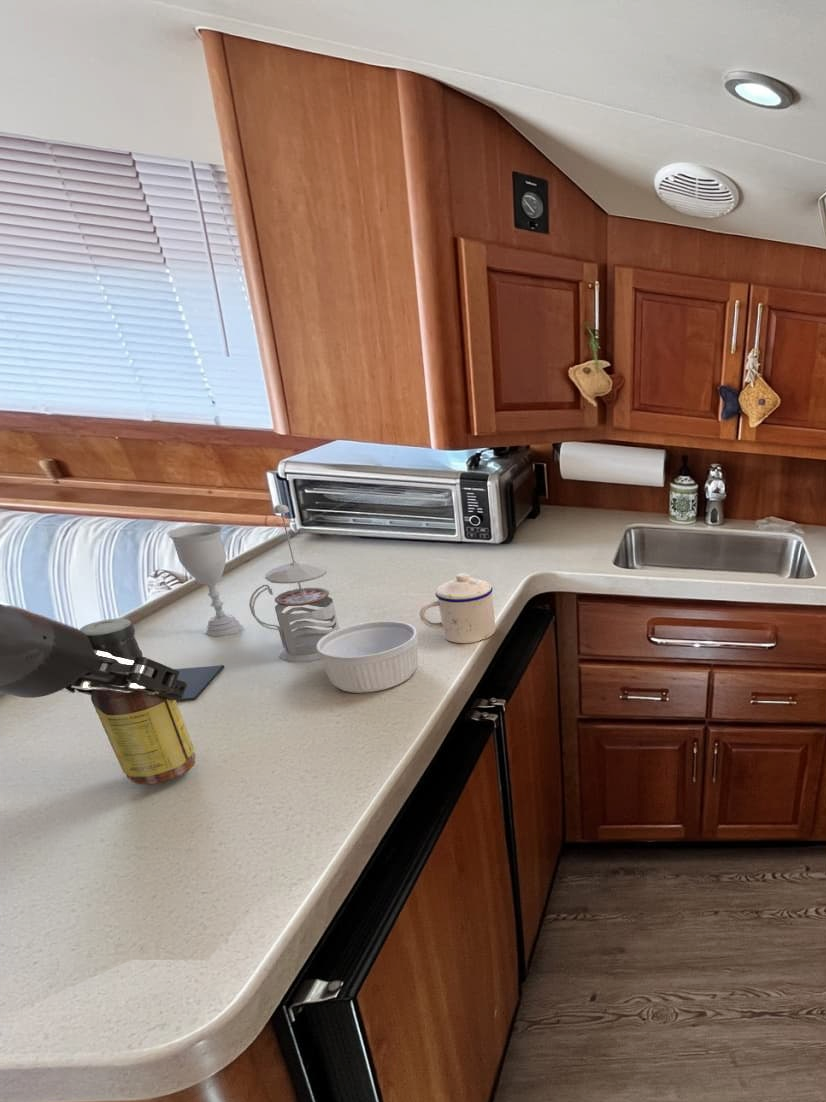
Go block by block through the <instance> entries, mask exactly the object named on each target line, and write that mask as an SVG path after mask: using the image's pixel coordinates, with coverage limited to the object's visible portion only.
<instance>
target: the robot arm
mask: <svg viewBox="0 0 826 1102" xmlns="http://www.w3.org/2000/svg"><path fill="white" fill-rule="evenodd" d="M174 669H175V668H173V667H169V666H167V665H165V664H163V663H160V662H157V661H155V660H153V659H150V658H148V657H146V656H143V657H135V659H134V661H132V660H128V659H123V658H118V657H114V656H112V655H111V654H110V653H107V652H102V651H97V650H93V648H92V645H91V643H90V640H89V638H88V637H87V636H86V635H85V633H83V632H82V631H81V630H80V629H79V628H77V627H75V626H72V625H70V624H66V623H64V622H61V621H58V620H56V619H53V618H50V617H47V616H44V615H42V614H39V613H38V612H37V613H36V612H33V611H31V610H28V609H27V608H23V607H20V606H17V605H14V604H11V603H9V602H6V601H1V600H0V694H1V693H2V694H6V695H9V696H10V695H11V696H13V697H19V698H24V699H25V698H27V699H31V698H32V699H33V698H42V697H46V696H49V695H53V694H55V693H58V692H59V693H60V692H61V693H68V694H79V693H81V694H85V695H88V696H91V694H92V689H97V690H103V691H109V692H114V693H120V694H123V693H130V692H133V691H136V692H141V693H147V694H148V695H155V696H159V697H162V698H165V699H169V700H181V699H182V697H183V696H184V693H185V690H186V688H187V685H186V683H185V682H183V681H180V680H177V678H178V675H179V673H180V672H179V671H177V670H174ZM119 674H120V675H124V677H123V680H122V682H121V684H120V686H116V685H111V684H114V683H115V682H116V681H117V679H118V677H119ZM139 685H140V686H139Z"/></svg>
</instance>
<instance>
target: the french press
mask: <svg viewBox="0 0 826 1102" xmlns="http://www.w3.org/2000/svg"><path fill="white" fill-rule="evenodd" d="M273 512H274V514H280V515H281V518H282V522H283V527H284V531H285V535H286V539H287V542H288V548H289V551H290V555H291V559H292V562H286V563H284V564H281V565H278V566H276V567H273V568H271V569H270V570H269V571H268V572H266V573H265V574H264V579H265V580H267V581H268V582H269V583H272V584H280V585H281V584H298V588H296V589H291V590H287V591H284V592H282V593H279V594H278V595H277V596H276V597H274V602H275V603H276V604H275V606H274V611H275V614H276V619H277V622H278V625H277V624H271V623H266V622H264V621H262V620H260V619H259V617H258V616H256V611H255V605H256V601H257V599H258V597H259V596H260V595H261V594H262V593H263V592H265V591H267V590H268V591H267V592H268V593H269V595H271V596H273V595H274V594H273V589H272V588H271V587H270V585H268V584H262V585H261V586H259V587H258V588H256V589H255V590H254V592H253V593H252V594H251V596H250V599H249V609H250V613H251V615H252V616H253V618H254V619H255V620H256V622H257V623H258V624H259V625H260V626H262V627H263V628H266V629H269V630H275V631H278V633H279V637H280V641H281V644H282V647H281V649H280V650H279V651H278V657H279V658H280V659H282V660H283V661H287V662H294V663H302V662H314V661H318V660H321V659H320V658H319V657H318V654H317V649H316V645H317V643H318V641H319V640H320V639H321V638H323V637H324V636H325V635H327V634H329V633H331V632H333V631H335V630H338V629H340V627H339V622H338V616H337V614H336V608H335V603H334V600H333V598H332V597H330V596H329V595H330V591H329V590H328V589H325V588H322V587H303V588H302V587H301V583H306V582H310V581H314V580H318V579H320V578H323V576H325V575H326V574H327V572H328V567H326V566H324V565H322V564H319V563H315V562H309V561H295V558H294V557H295V556H294V553H293V549H292V545H291V542H290V538H289V537H290V536H289V532H288V529H287V525H286V520H285V516H284V514H286V513H289V512H290V509H289V506H287V505H286V504H277V505H275V506H274V508H273ZM264 587H265V588H264ZM263 588H264V589H263ZM261 589H262V590H261ZM259 590H260V591H259ZM258 591H259V592H258ZM304 606H312V607H317V608H319V609H314V608H311V607H310V608H309V607H304ZM288 607H291V608H290V609H288V610H286V609H287V608H288ZM284 610H286V611H285V612H283V611H284ZM300 611H303V612H300ZM294 612H298V613H294ZM299 612H300V613H299ZM310 620H316V621H321V622H315V621H310ZM314 627H319V628H325V629H319V628H314ZM326 628H327V629H326ZM330 628H331V629H330Z"/></svg>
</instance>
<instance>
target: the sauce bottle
mask: <svg viewBox="0 0 826 1102" xmlns="http://www.w3.org/2000/svg"><path fill="white" fill-rule="evenodd" d="M79 630H81V631H82V632H83V633H85V635H86V636H87V637H88V638H89V640H90V643H91V645H92V648H93V650H97V651H102V652H107V653H110V654H111V655H112V656H114V657H118V658H123V659H128V660H132V661H134V659H135V657H144V656H143V652H142V650H141V649H140V647H139V643H138V641H137V639H136V637H135V635H136V634H135V633H136V630H135V627H134V625H133V623H132V621H130V620H129V619H126V618H110V619H109V618H108V619H103V620H99V621H96V622H91V623H89V624H85V625H84V626H82V627H80V629H79ZM123 677H124V675H120V674H119V677H118V679H117V681H116V682H115V683H114V684H111V685H116V686H120V684H121V682H122V680H123ZM139 686H140V685H139ZM90 699H91V703H92V705H93V708H94V709H95V712H96V714H97V716H98V719H99V721H100V723H101V726H102V728H103V730H104V732H105V734H106V737H107V739H108V741H109V743H110V745H111V747H112V751H113V753H114V756H115V757H116V759H117V761H118V764H119V766H120V768H121V771H122V772H123V773H124V775H126V776H125V777H126V778H127V779H128V780H130V782H131V783H134V784H137V785H146V786H149V785H156V784H162V783H165V782H169V781H172V780H174V779H176V778H178V777H179V776H181V775H183V774H185V773H187V772H188V771H190V770H191V769H192V768H193V767H194V766H195V764H196V760H197V759H196V753H195V752H194V751H195V747H194V744H193V741H192V739H191V736H190V733H189V731H188V729H187V726H186V724H185V720H184V719H183V716H182V713H181V710H180V707H179V705H178V702H176V700H169V699H165V698H162V697H159V696H155V695H148V694H147V693H141V692H136V691H133V692H130V693H123V694H120V693H114V692H109V691H103V690H97V689H92V694H91V695H90Z"/></svg>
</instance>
